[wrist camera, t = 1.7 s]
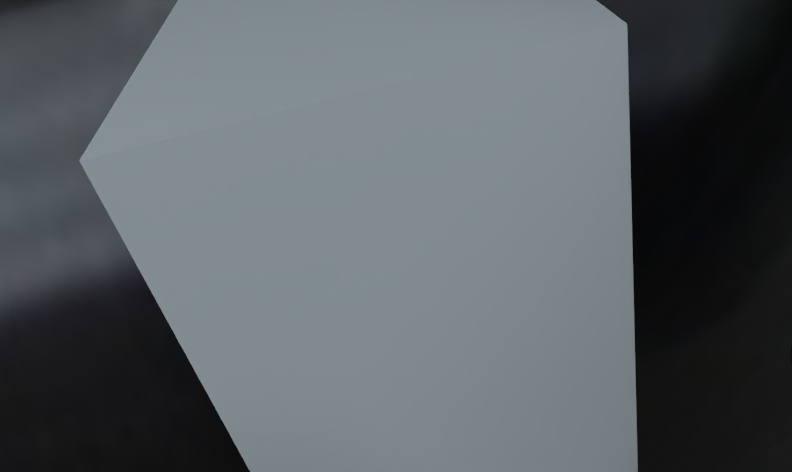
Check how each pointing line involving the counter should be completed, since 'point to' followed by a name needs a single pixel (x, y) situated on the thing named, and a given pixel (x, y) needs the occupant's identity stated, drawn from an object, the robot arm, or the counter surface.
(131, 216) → the cabinet block
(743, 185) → the counter surface
